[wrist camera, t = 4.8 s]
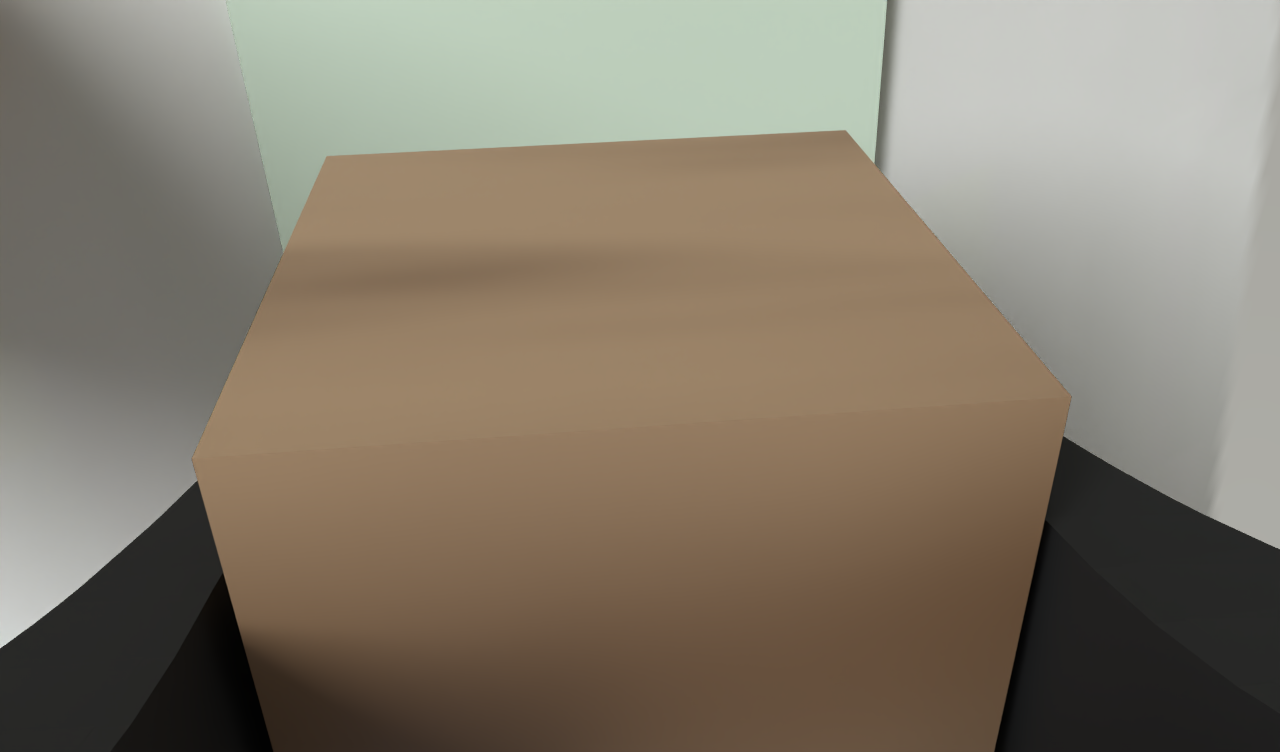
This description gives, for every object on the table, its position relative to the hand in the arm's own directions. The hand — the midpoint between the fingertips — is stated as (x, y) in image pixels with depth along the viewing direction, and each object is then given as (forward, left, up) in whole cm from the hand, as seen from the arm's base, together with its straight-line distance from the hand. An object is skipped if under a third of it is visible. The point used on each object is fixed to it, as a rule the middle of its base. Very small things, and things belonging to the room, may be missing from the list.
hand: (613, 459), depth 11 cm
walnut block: (0, 0, -2) cm, 2 cm away
